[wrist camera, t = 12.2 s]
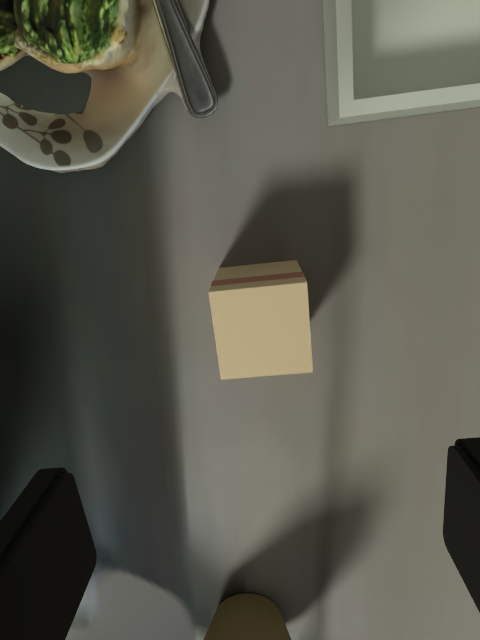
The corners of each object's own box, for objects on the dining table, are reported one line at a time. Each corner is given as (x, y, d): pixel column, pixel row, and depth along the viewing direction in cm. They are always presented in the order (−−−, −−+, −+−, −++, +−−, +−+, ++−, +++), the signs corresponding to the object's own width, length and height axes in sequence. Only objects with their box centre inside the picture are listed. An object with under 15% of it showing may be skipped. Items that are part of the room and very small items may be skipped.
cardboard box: (296, 259, 26) (307, 281, 20) (302, 332, 28) (313, 372, 22) (218, 267, 27) (208, 291, 21) (228, 339, 28) (220, 380, 22)
